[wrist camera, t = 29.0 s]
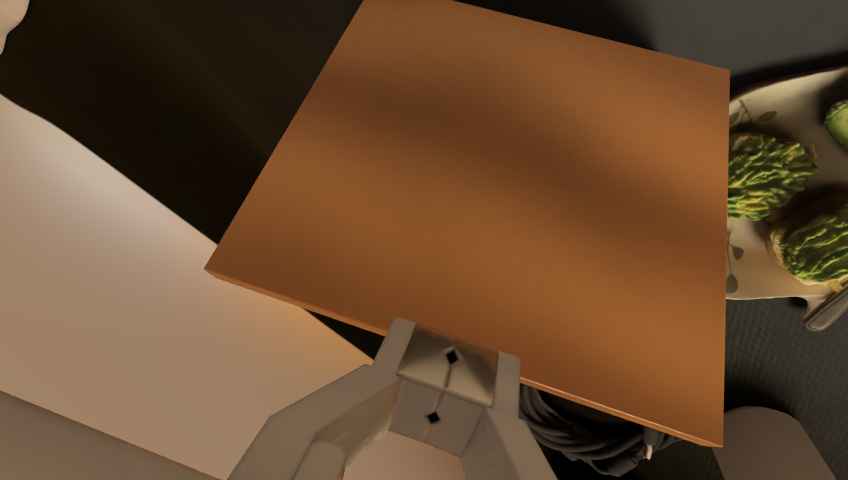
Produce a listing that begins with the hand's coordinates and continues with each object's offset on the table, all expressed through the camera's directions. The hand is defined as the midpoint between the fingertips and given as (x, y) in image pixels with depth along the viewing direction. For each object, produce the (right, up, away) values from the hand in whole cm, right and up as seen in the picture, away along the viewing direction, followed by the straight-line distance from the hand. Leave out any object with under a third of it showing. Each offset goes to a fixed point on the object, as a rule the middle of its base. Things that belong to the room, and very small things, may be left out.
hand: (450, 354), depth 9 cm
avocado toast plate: (+26, +7, +18) cm, 32 cm away
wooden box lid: (+2, +6, +6) cm, 8 cm away
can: (+31, -15, +29) cm, 45 cm away
